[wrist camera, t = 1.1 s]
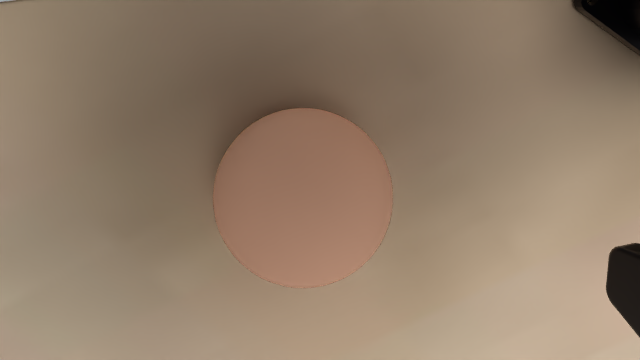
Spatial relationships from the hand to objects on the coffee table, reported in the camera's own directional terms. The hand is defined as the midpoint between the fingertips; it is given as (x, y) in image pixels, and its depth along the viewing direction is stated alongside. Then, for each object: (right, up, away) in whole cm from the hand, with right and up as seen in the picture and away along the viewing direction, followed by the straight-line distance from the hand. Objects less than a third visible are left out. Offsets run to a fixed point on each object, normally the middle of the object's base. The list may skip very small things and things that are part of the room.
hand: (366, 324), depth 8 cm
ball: (-2, +3, +12) cm, 12 cm away
